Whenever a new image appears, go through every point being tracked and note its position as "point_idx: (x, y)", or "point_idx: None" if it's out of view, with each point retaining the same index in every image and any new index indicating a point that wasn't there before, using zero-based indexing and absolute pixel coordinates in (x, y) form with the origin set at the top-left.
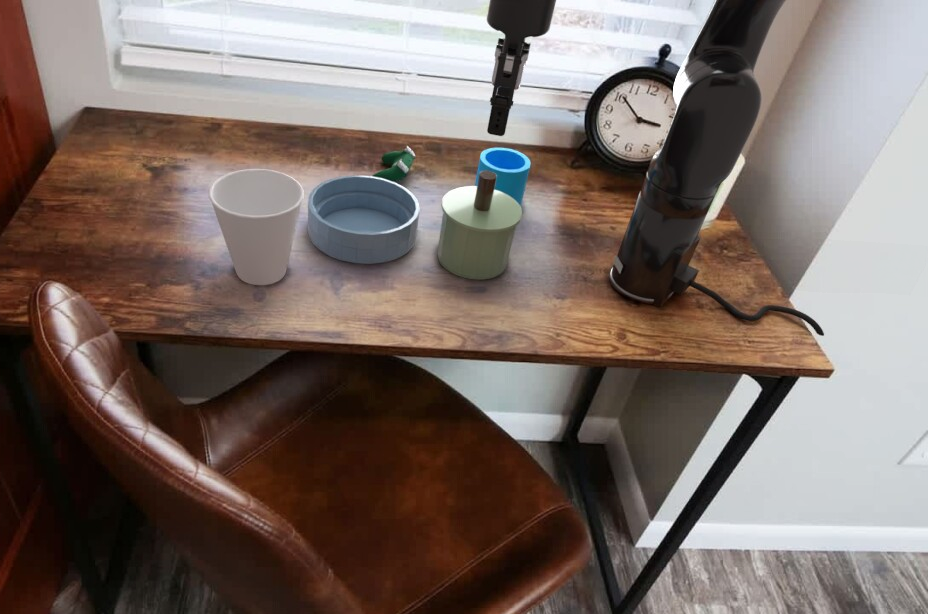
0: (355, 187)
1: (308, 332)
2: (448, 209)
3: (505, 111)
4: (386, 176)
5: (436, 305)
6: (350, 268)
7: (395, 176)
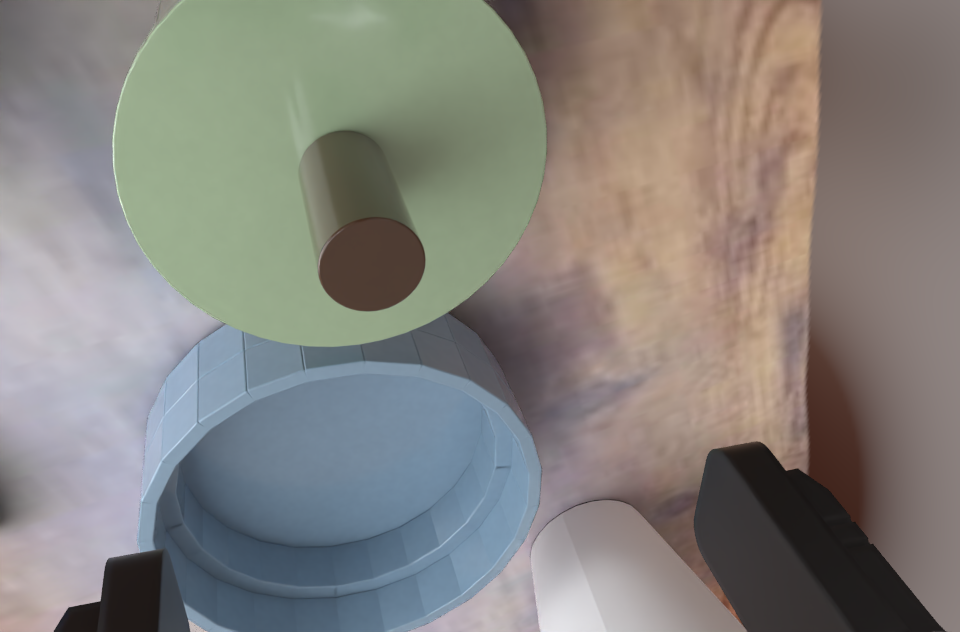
0: (187, 570)
1: (788, 376)
2: (437, 300)
3: (938, 628)
4: None
5: (635, 125)
6: (519, 396)
7: None
